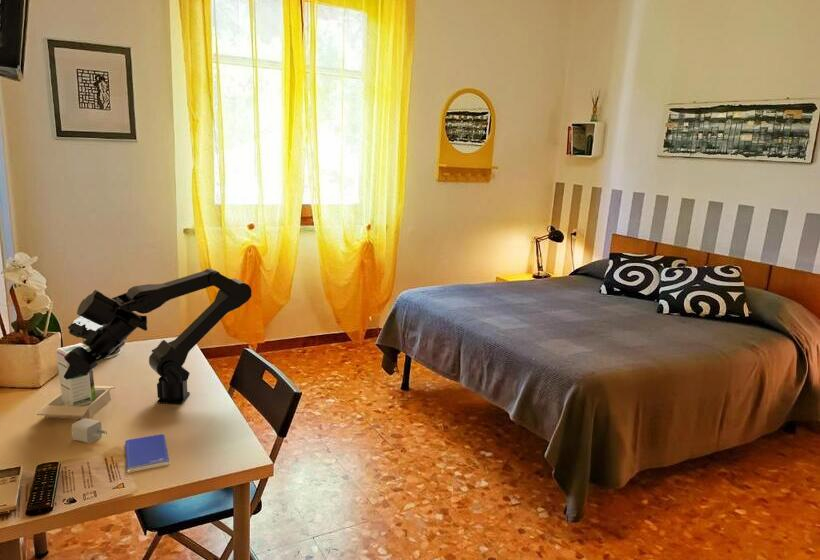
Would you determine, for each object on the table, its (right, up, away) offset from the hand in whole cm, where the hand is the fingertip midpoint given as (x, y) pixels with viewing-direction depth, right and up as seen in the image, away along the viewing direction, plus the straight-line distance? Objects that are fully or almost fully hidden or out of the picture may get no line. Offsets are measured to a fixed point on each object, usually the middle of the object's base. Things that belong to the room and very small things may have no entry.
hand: (74, 371), depth 140 cm
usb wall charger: (+11, -14, -12) cm, 21 cm away
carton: (0, -10, +2) cm, 10 cm away
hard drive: (+26, -16, -16) cm, 34 cm away
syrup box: (0, -8, +2) cm, 8 cm away
